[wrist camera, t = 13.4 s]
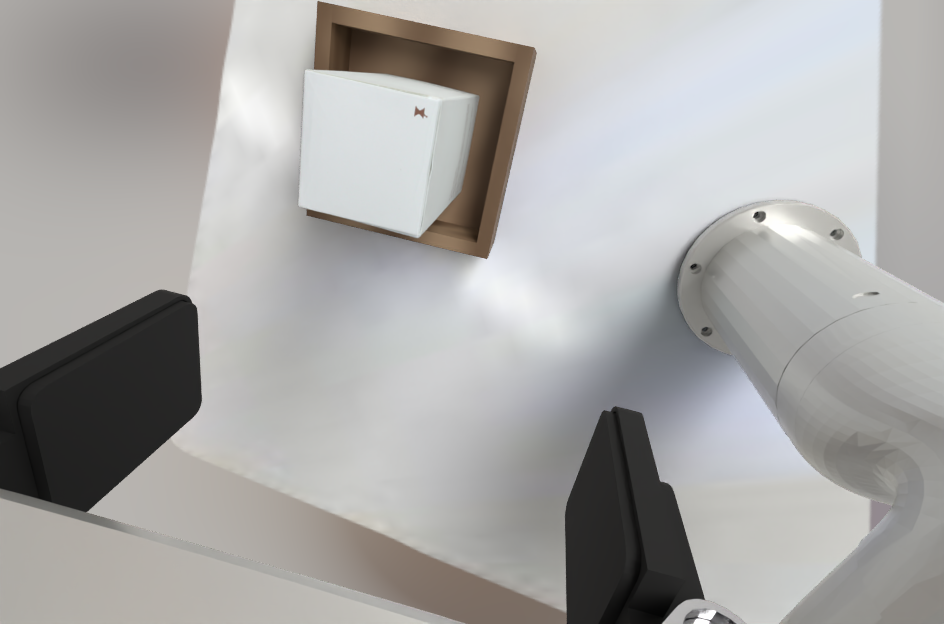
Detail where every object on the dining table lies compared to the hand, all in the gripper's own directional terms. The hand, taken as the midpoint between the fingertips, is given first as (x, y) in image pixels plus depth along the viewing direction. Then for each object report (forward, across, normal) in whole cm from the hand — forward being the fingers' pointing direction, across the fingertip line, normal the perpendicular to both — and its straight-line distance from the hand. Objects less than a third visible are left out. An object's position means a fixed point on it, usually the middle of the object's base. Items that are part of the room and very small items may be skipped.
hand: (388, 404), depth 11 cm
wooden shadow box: (+30, +7, -2) cm, 31 cm away
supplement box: (+29, +7, -2) cm, 30 cm away
